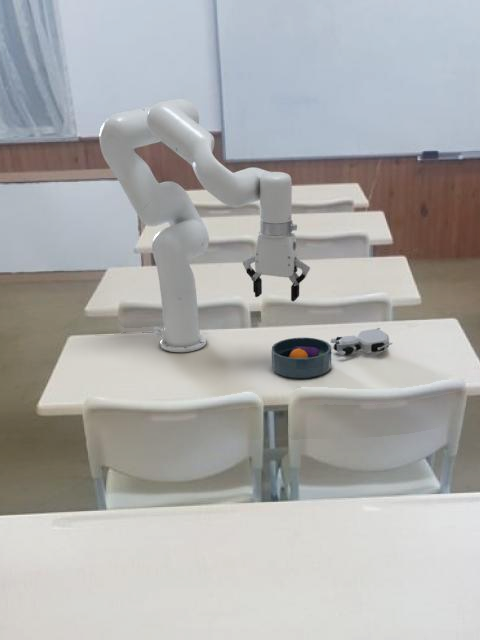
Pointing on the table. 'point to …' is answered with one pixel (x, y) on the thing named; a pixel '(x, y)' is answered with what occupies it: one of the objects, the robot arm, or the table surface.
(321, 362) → the bowl
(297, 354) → the orange toy
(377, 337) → the robot toy
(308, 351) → the aubergine toy
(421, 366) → the table surface
